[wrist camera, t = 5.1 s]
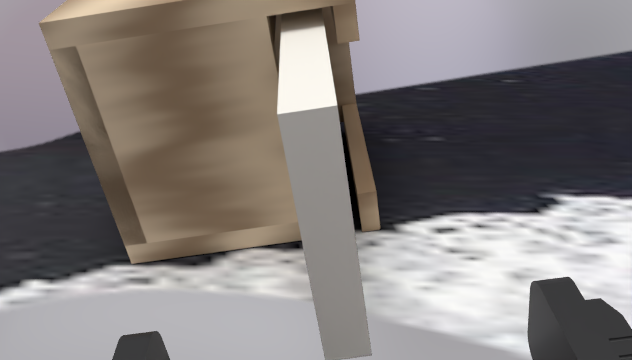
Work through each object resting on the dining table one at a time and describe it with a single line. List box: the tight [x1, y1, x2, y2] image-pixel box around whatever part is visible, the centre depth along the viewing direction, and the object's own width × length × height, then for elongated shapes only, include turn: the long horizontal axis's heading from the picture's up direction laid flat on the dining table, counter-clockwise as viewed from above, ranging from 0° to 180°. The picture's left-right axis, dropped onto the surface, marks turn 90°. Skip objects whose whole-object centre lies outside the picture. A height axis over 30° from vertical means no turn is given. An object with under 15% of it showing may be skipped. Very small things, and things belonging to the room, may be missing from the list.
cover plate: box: [277, 8, 372, 360], centre depth 23 cm, size 2×11×9 cm, turn 2°
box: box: [39, 0, 380, 264], centre depth 28 cm, size 11×10×11 cm
